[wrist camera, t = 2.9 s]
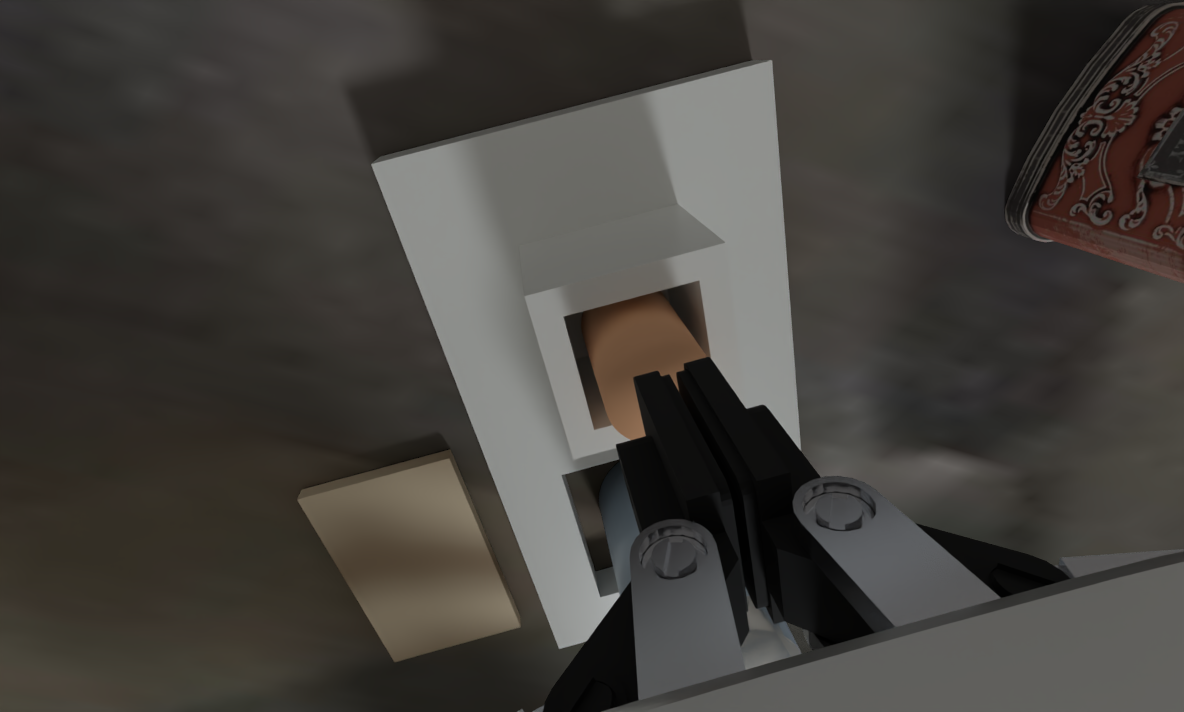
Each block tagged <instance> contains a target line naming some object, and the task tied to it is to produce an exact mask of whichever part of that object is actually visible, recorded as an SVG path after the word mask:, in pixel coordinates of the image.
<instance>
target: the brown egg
mask: <svg viewBox="0 0 1184 712" xmlns="http://www.w3.org/2000/svg"><path fill="white" fill-rule="evenodd" d="M581 330H582V335H583V338H584V342H585V345H586V348H587V351H588V355H589V358H590V361H591V364H592V368H593V371H594V374H595V377H596V381H597V384H598V387H599V390H600V394H601V397H602V400H603V403H604V407H605V410H606V413H607V416H608V418H609V420H610V422H611V424H612V425H613V427H614V428H615V429H616V430H617V431H618V432H619V433H620V434H622V435H623V436H624V437H626V438H628V439H630V440H633V439H637V438H641V437H645V436H646V435H645V431H644V426H643V422H642V417H641V413H640V408H639V404H638V399H637V395H636V390H635V386H634V380H633V377H635V376H639V375H642V374H646V373H650V372H653V371H659V373H660V375H661V376H664V375H668V374H669V375H670V376H671V378H672V380H673V382H674V384H675V385H676V387H677V389H678V383H677V377H676V373H677V372H679V371H683V370H684V363H687V362H691V361H694V360H698V359H702V358H705V357H707V356H706V354H705V353H704V352H703V350H702V349H701V347H700V346H699V344H698V343H697V342H696V340H695V339H694V337H693V336H692V334H691V333H690V332H689V330H688V329H687V327H686V326H685V325H684V323H683V322H682V320H681V319H680V317H679V316H678V315H677V313H676V312H675V310H674V309H673V307H672V306H671V305H670V303H669V302H668V300H667V299H666V297H665V296H664V295H663V294H662V292H661V291H657V292H654V293H650V294H646V295H643V296H639V297H635V298H631V299H628V300H624V301H620V302H616V303H613V304H609V305H605V306H601V307H598V308H594V309H590V310H586V311H583V314H582V319H581ZM678 391H679V389H678Z"/></svg>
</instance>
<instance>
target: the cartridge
mask: <svg viewBox="0 0 1184 712" xmlns="http://www.w3.org/2000/svg"><path fill="white" fill-rule="evenodd" d="M599 506H600V511H601V516H602V520H603V524H604V529H605V533H606V537H607V542H608V546H609V551H610V555H611V559H612V564H613V568H614V573H615V577H616V581H617V586H618V590H619V594H620V595H621V594H622V592H623V591H624V589H625V588H626V587H627V585H628V584H629V583H630V581H631V574H630V550H631V546H632V544H633V542H634V541H635V539H636V537H637V536H638V535H639V534H640V533H639V529H638V526H637V522H636V519H635V516H634V512H633V509H632V505H631V502H630V498H629V495H628V491H627V487H626V484H625V480H624V476H623V472H622V468H621V464H620V462H618V463H617V464H616V465H615V466H614V467H613V468H612V469H611V470H610V471H609V473H608V474H607V475H606V477H605V479H604V481H603V483H602V485H601V488H600V492H599ZM745 590H746V596H747V603H748V612H747V617H748V624H749V633H748V635H747V637H746V638H745V640H744V642H743V644H742V646H741V651H742V655H743V660H744V664H745V668H746V669H750V668H753V667H757V666H760V665H764V664H767V663H771V662H774V661H778V660H781V659H785V658H789V657H792V656H796V655H799V654H802V653H801V651H800V649H799V647H798V645H797V643H796V641H795V639H794V637H793V635H792V633H791V631H790V630H789V628H788V626H787V624H786V622H785V621H784V622H780V623H777V624H774V623H773V621H772V619H771V617H770V615H769V613H768V611H767V609H766V607H763V608H759V609H756V608H755V606H754V604H753V602H752V600H751V598H750V596H749V594H748V592H747V589H746V587H745Z"/></svg>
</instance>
